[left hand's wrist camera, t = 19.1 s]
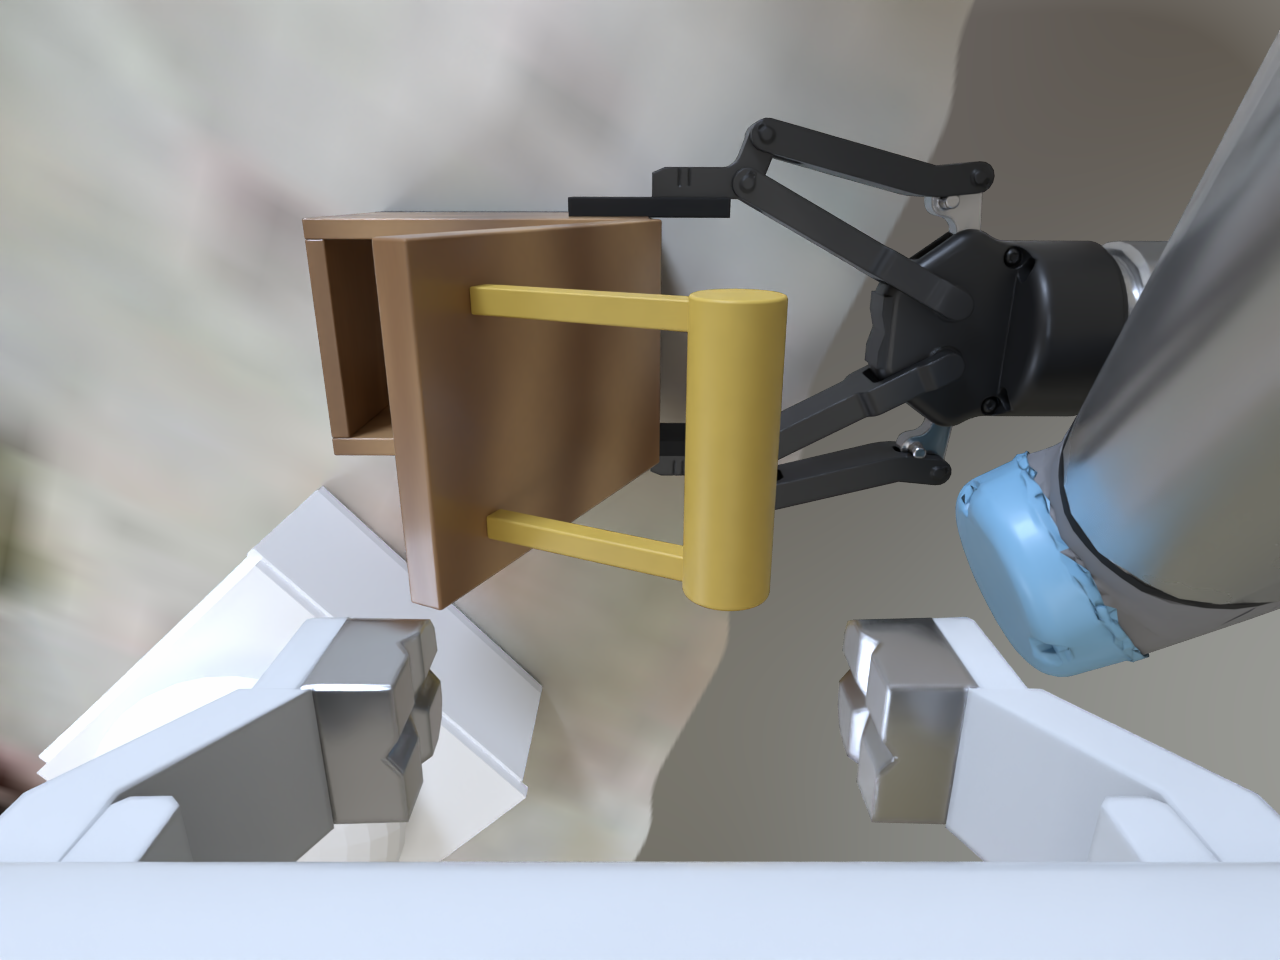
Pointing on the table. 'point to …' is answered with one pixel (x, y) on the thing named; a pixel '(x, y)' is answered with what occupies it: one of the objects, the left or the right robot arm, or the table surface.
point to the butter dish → (266, 621)
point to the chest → (374, 309)
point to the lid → (573, 405)
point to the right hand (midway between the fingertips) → (574, 328)
